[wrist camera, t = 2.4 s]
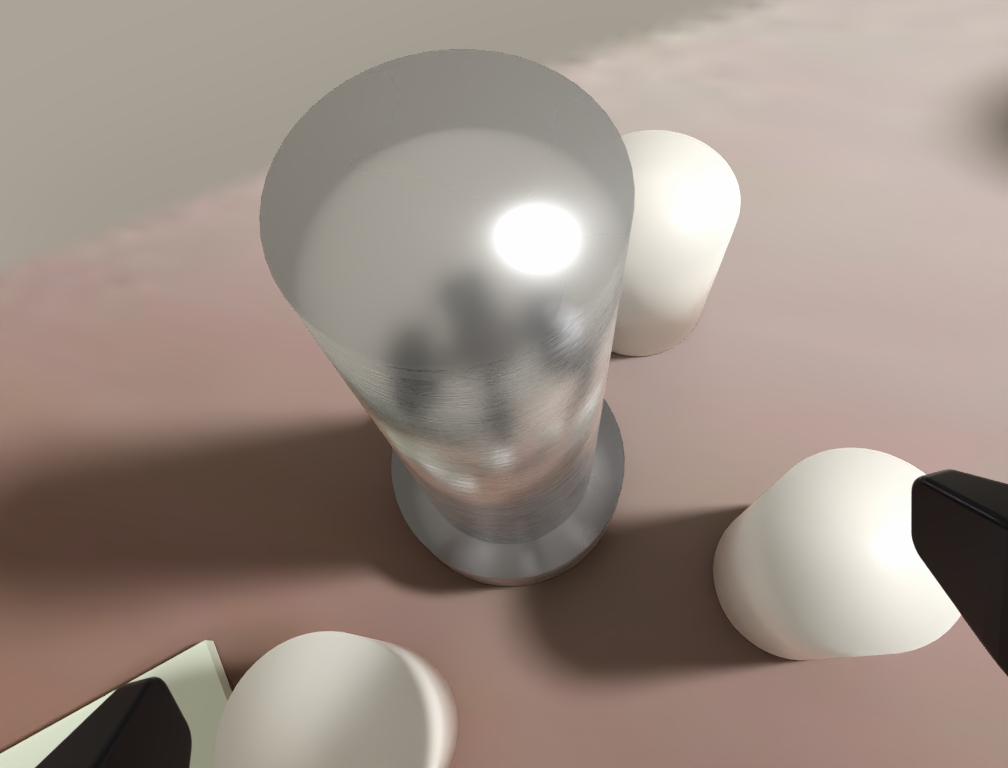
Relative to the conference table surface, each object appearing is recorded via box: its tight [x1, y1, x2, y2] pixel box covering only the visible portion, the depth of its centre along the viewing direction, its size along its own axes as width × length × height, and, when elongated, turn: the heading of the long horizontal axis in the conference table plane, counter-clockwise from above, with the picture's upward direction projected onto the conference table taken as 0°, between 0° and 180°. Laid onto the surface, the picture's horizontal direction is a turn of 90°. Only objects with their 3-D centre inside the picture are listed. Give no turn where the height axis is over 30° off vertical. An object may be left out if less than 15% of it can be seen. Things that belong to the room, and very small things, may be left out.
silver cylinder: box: [260, 49, 635, 586], centre depth 15 cm, size 6×6×13 cm
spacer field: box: [214, 130, 961, 768], centre depth 16 cm, size 21×16×5 cm
